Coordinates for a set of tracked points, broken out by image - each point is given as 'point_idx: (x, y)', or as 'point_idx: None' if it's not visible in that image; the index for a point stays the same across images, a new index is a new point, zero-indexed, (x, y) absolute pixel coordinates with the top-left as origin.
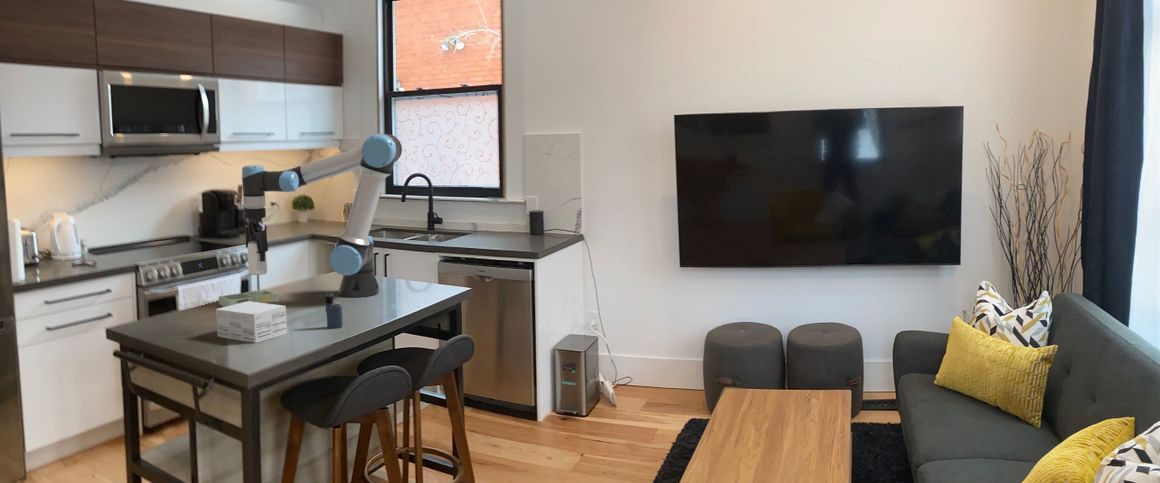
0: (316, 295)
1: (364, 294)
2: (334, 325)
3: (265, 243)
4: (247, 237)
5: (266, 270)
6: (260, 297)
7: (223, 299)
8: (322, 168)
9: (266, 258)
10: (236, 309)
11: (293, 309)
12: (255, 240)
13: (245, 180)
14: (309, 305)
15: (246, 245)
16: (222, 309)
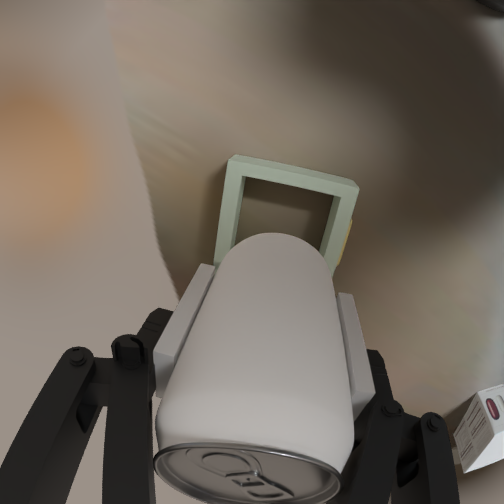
0: (393, 18)
1: None
2: None
3: (443, 487)
4: (71, 476)
5: (325, 266)
6: (338, 264)
7: None
8: None
9: (323, 306)
10: (499, 457)
11: (488, 243)
12: (147, 459)
13: None
14: (498, 173)
15: (90, 407)
16: (475, 468)
